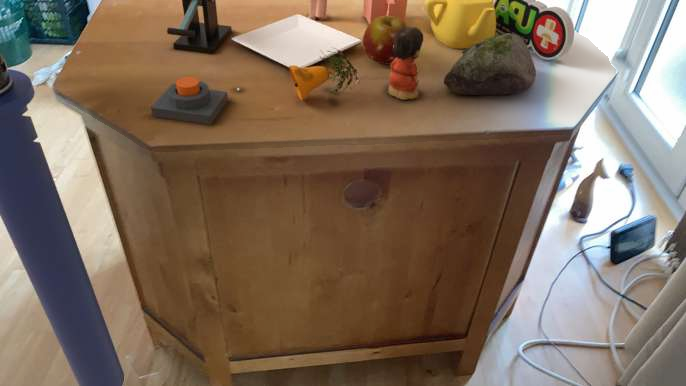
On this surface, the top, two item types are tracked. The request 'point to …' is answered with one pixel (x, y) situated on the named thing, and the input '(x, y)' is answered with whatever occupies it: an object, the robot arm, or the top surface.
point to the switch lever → (186, 21)
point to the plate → (296, 41)
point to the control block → (190, 105)
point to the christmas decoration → (320, 75)
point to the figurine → (405, 63)
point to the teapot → (462, 21)
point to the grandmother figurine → (317, 9)
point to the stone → (493, 67)
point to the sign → (536, 26)
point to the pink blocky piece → (384, 9)
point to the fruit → (382, 38)
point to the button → (188, 86)
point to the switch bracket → (203, 30)
